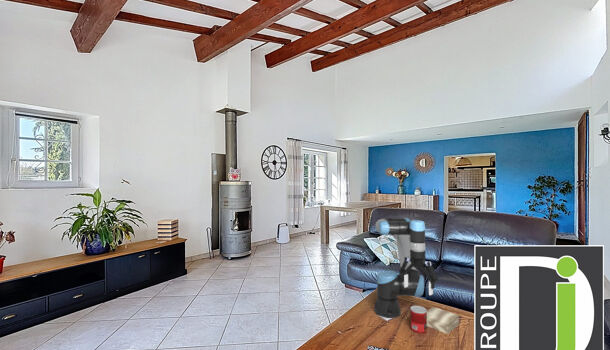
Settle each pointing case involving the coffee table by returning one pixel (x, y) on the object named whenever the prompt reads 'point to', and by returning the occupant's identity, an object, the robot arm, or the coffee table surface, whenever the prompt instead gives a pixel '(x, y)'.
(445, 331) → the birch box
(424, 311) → the canned food
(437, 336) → the coffee table surface
